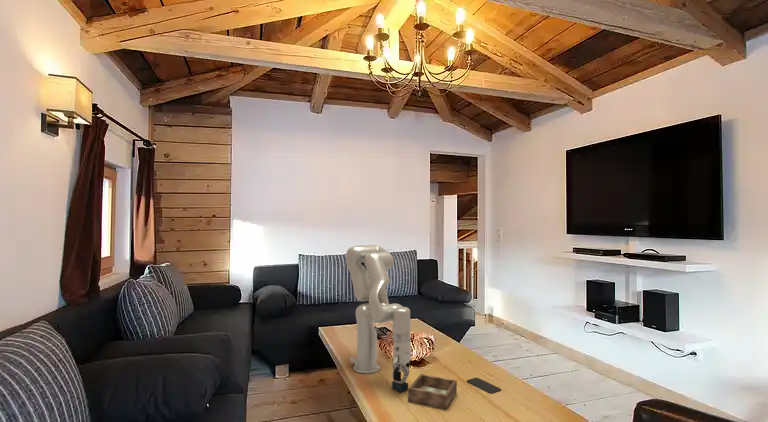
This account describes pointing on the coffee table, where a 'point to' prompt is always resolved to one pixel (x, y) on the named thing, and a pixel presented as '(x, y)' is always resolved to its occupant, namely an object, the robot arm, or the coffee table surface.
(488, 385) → the phone
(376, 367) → the robot arm
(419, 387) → the box
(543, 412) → the coffee table surface
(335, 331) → the coffee table surface
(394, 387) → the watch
